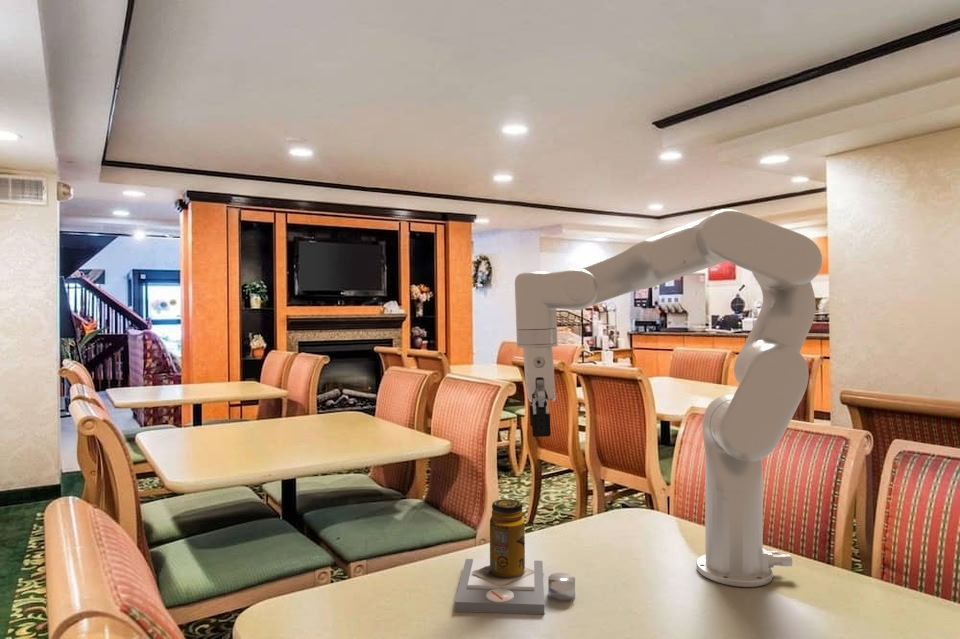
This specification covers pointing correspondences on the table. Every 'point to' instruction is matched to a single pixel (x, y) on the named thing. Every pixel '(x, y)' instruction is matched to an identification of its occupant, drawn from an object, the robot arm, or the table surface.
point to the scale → (500, 591)
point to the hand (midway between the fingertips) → (540, 430)
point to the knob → (561, 587)
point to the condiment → (506, 544)
